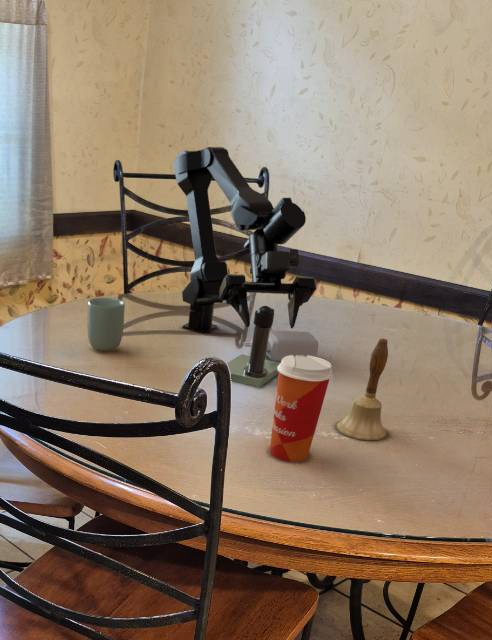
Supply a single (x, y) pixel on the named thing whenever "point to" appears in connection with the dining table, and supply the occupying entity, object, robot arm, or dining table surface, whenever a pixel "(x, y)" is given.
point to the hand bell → (368, 403)
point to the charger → (289, 344)
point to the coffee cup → (298, 405)
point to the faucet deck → (249, 380)
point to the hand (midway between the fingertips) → (270, 326)
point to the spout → (264, 317)
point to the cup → (105, 323)
